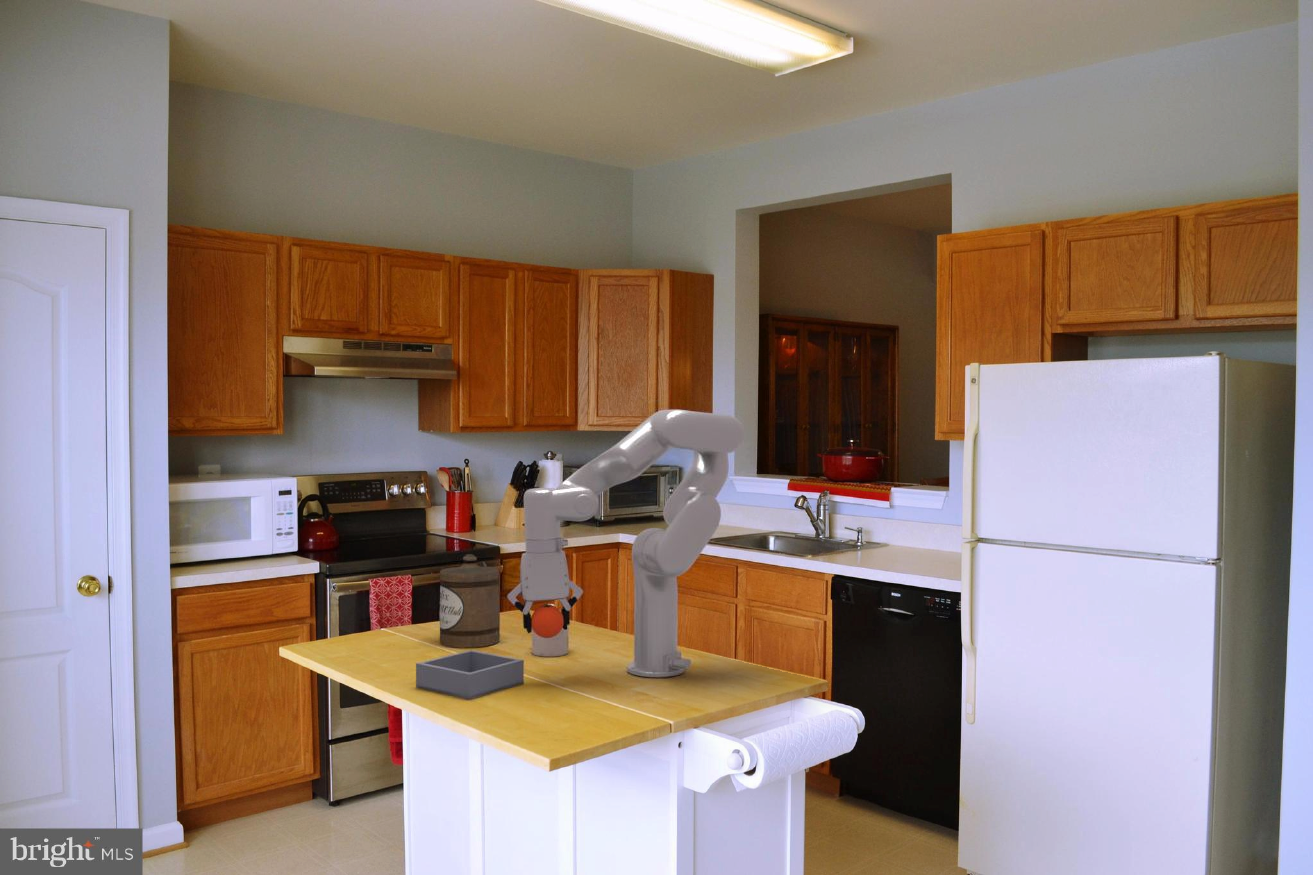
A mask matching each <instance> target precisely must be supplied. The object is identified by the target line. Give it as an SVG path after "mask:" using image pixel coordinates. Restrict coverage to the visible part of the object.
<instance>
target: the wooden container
mask: <svg viewBox="0 0 1313 875" xmlns="http://www.w3.org/2000/svg"><path fill="white" fill-rule="evenodd" d="M462 560H463V564H462V565H461V566H457V567H456V566H455V567H448V568H443V569H440V570H439V583H440V587H439V588H440V589H439V592H440V593H439V643H440V645H441V646H445V647H449V648H456V649H457V648H458V649H475V648H474V647H477V648H484V647H489V645H490V646H492V645H493V646H494V645H496V644H498V643H499V642H500V639H501V638H500V637H501V636H500V634H501V632H500V631H501V630H500V629H501V628H500V627H501V626H500V625H501V624H500V623H501V614H500V613H501V612H500V583H499V582H500V573H499V568H497V567H491V566H479V565H478V564H477V563H476V562H477V560H478V559H477V556H475V555H474V554H471V553H470V554H469V553H468V554H465V556H463V558H462Z"/></svg>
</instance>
